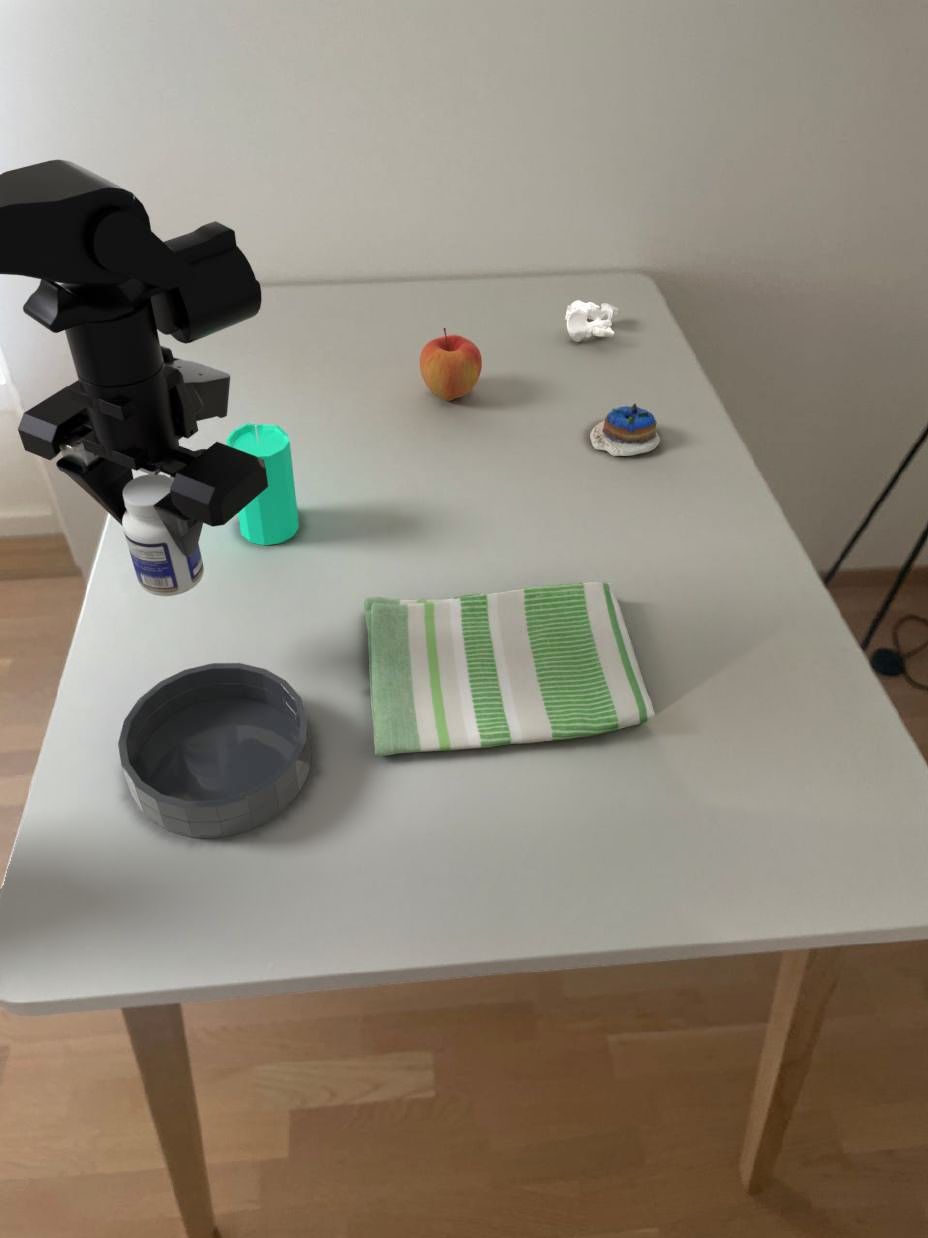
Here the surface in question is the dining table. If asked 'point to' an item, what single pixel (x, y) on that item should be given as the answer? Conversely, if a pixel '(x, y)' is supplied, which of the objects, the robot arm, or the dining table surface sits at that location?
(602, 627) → the dish towel
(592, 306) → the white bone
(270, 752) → the pan
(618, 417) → the dessert
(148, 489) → the pill bottle
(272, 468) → the candle
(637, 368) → the dining table surface
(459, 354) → the apple
